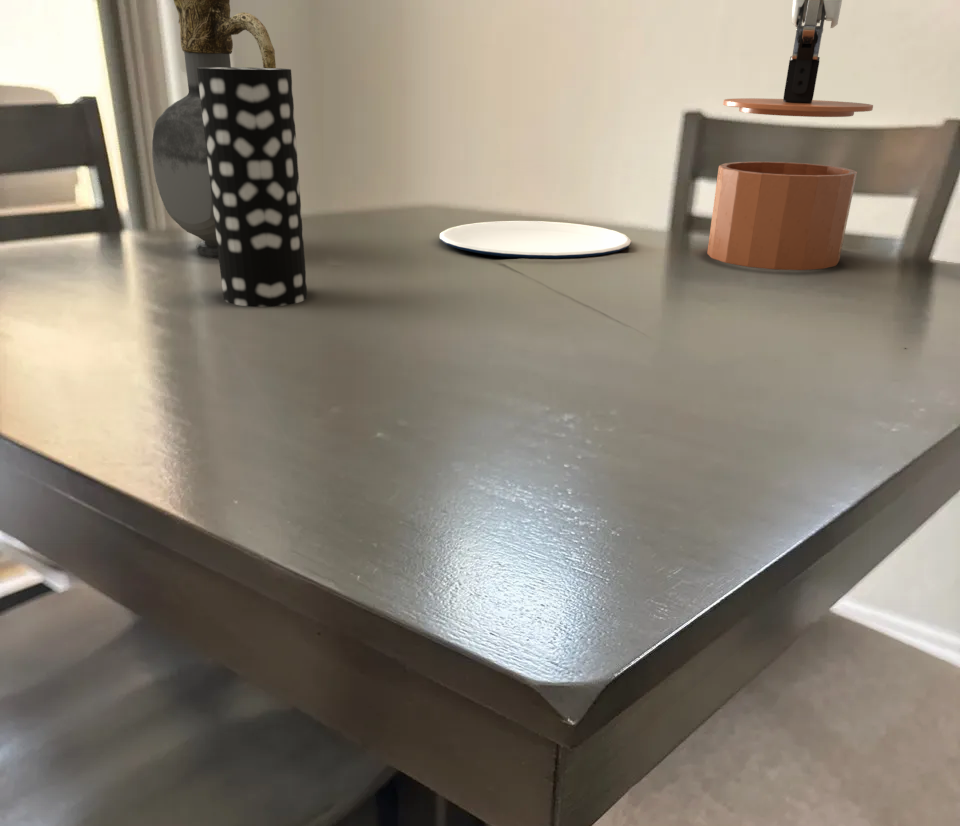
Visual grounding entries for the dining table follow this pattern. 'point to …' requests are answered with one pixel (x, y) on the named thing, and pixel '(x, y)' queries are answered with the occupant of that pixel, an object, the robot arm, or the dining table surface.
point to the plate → (534, 239)
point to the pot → (780, 214)
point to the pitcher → (198, 116)
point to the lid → (797, 107)
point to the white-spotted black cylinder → (254, 183)
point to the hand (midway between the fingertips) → (798, 99)
